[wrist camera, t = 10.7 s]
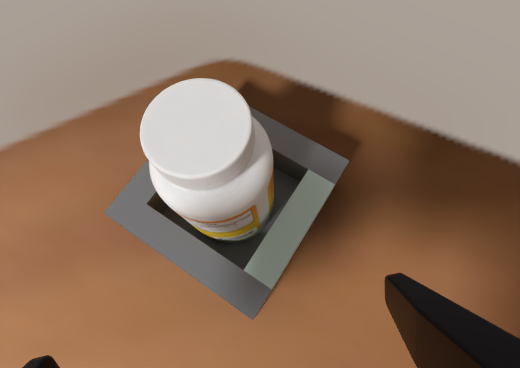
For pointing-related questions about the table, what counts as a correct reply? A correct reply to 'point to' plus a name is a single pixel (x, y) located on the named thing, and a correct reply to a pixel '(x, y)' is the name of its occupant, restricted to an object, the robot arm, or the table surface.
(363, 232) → the table surface
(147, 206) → the dock
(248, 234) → the supplement bottle
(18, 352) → the table surface
